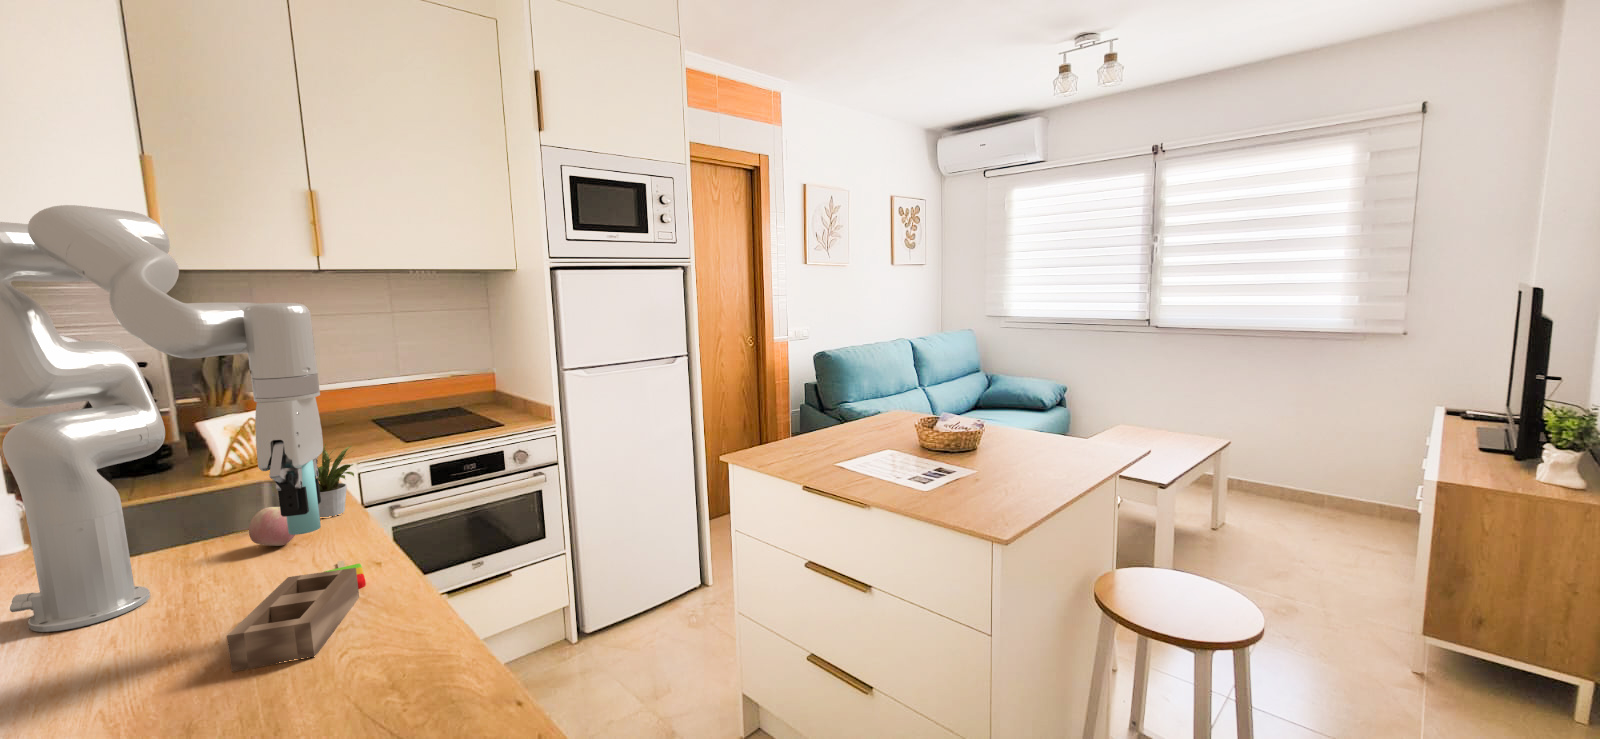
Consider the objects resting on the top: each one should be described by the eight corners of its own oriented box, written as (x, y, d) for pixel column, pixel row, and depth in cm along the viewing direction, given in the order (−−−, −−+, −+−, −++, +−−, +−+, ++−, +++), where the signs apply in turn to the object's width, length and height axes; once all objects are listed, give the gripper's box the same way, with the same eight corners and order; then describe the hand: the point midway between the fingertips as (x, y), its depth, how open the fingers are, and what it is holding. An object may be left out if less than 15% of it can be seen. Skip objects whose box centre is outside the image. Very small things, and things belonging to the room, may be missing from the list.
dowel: (283, 536, 92) (274, 462, 90) (295, 527, 95) (286, 456, 94) (314, 532, 93) (306, 459, 91) (324, 523, 96) (316, 453, 95)
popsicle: (325, 601, 101) (324, 589, 101) (322, 570, 113) (321, 560, 113) (366, 590, 105) (365, 579, 105) (359, 562, 117) (358, 552, 116)
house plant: (279, 533, 130) (269, 456, 128) (284, 515, 141) (275, 444, 139) (363, 517, 138) (355, 445, 136) (361, 501, 149) (354, 434, 148)
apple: (293, 551, 121) (288, 511, 120) (243, 557, 118) (238, 516, 117) (309, 536, 128) (304, 498, 127) (263, 542, 126) (258, 503, 125)
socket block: (231, 671, 81) (226, 635, 81) (292, 607, 98) (288, 577, 98) (314, 657, 84) (310, 622, 84) (359, 597, 101) (355, 567, 101)
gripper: (281, 382, 98) (295, 496, 100) (224, 399, 82) (242, 533, 85) (338, 379, 100) (350, 490, 103) (293, 394, 85) (309, 525, 87)
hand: (301, 508), depth 93 cm, fingers closed on dowel, 3 cm apart
